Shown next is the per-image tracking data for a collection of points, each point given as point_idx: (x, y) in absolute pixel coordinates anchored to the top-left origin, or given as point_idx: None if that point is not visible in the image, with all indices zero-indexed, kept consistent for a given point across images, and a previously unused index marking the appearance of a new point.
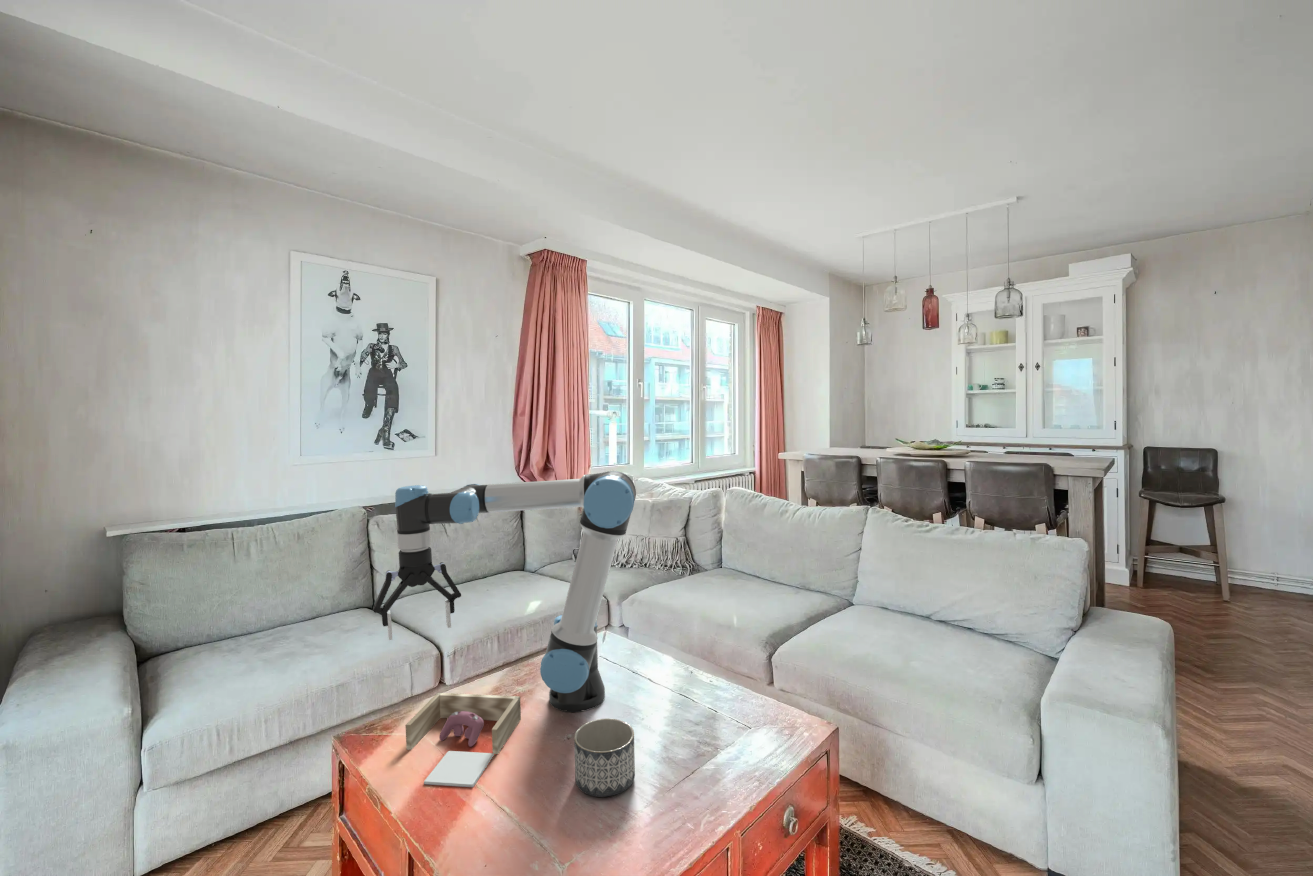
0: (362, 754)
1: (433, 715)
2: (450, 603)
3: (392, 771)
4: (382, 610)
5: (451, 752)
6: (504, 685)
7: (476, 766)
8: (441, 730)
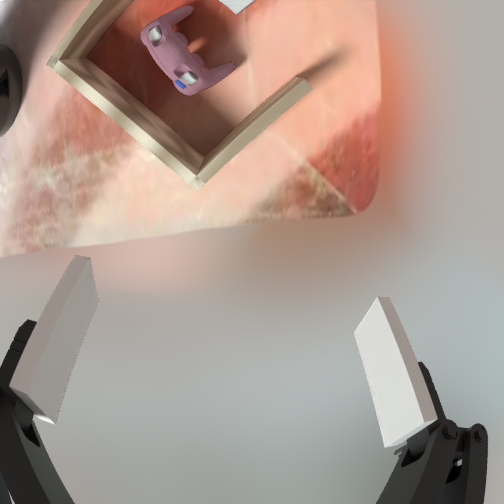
0: (368, 131)
1: (222, 143)
2: (15, 380)
3: (346, 35)
4: (458, 437)
5: (233, 4)
6: (70, 206)
7: None
8: (228, 70)
